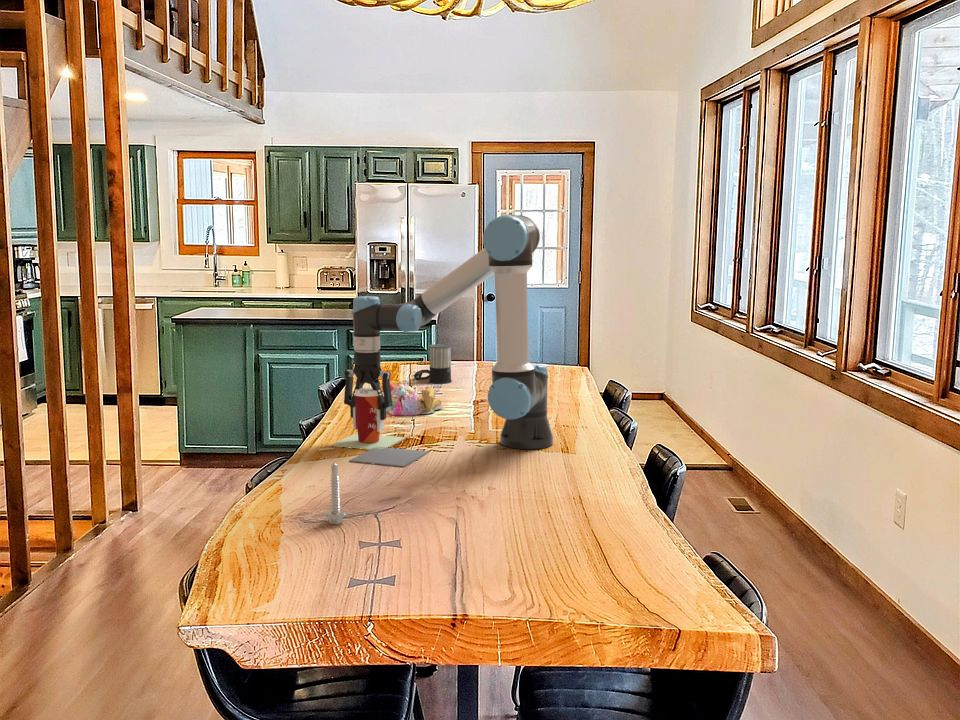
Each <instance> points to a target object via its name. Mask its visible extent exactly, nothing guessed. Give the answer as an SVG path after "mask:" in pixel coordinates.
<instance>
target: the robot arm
mask: <svg viewBox="0 0 960 720" xmlns="http://www.w3.org/2000/svg"><path fill="white" fill-rule="evenodd" d="M482 235H483V236H482V243H483V247H484V248H482V249H481V250H480V251H478V252H477V253H476V254H474V255H472V256H471V257H470V258H468V259H467V260H466V261H465V262H463V263H461V265H458V267H456V268H455V269H453V270H452V271H451V272H449V273H448V274H446V275H445V276H444V277H443V278H440V280H439V281H437V282H436V283H434V284H433V285H431V287H429V288H427V289H426V290H424V291H423V292H422V293H421V294H419V295H418V296H416V297H415V298H413V300H411V301H407V302H405V303H404V302H403V303H396V304H394V303H392V304H391V303H390V304H389V303H387V304H385V303H381V300H380V298H379V296H374V295H363V296H360V295H359V296H356V297H354V298H353V300H352V301H353V302H352V303H353V304H352V323H353V324H352V327H353V350H354V352H353V365H354V367H353V369H347V370H345V371H344V372H343V373H344V377H345V382H344V383H345V385H344V395H343V396H344V397H343V404H344V405H347V406H349V408H350V418H352V420H353V421H352V425H353V426H352V428H353V429H352V430H354V431H356V430H357V417H356V404H355V395H354V393H355V389H361V388H363V387H364V385H365V384H368V385H370V387H372V388H373V390H375V391H377V393H378V395H379V394H382V395H379V396H378V402H377V403H378V405H379V408H378V409H377V432H380V433H381V432H383V431H384V430H385V428H384V427H385V425H384V421H385V420H386V419H387V413H386V408H387V407H390V406H392V396H391V388H390V382H391V381H390V380H391V376H392V373H391V372H390V371H387V372H386V371H383V370H382V368H381V364H382V363H381V361H382V360H381V351H380V350H381V332H384V331H386V332H403V333H409V332H410V333H411V332H412V333H413V332H418V331H419V330H420V328H421V327H423V326H425V325H427V324H428V323H430V322H431V321H432V319H433V318H435V316H437V315H438V314H440V313H441V312H442V311H444V310H445V309H447V308H448V307H449V306H451V305H452V304H454V303H455V302H457V301H458V300H459V299H461V298H462V297H463V296H465V295H467V293H469V292H470V291H472V290H473V289H475V288H476V287H478V286H479V285H480V284H482V283H483V282H485V281H486V280H488V279H489V278H490V277H492V276H493V275H494V293H495V294H494V296H495V329H496V330H495V331H496V332H495V333H496V334H495V335H496V363H495V364H494V365H493V366H492V368H491V385H490V386H489V389H488V392H487V403H488V405H489V408H490V409H491V410H492V412H493V413H494V414H495V415H496V416H498V417H500V418H502V419H504V420H505V421H504V424H503V427H502V430H501V433H500V436H499V442H500V445H501V446H504V447H507V448H510V449H516V450H517V449H518V450H538V449H545V448H548V447H551V446H552V445H553V444H554V443H553V442H554V439H553V438H554V436H553V433H552V429H551V425H550V422H549V419H548V388H549V387H548V385H549V383H548V379H549V374H548V368H547V366H546V365H542V364H532V363H531V361H530V349H529V346H530V345H529V309H528V308H529V307H528V306H529V304H528V303H529V302H528V301H529V299H528V272H529V270H530V269H531V268H532V267H533V253H534V252H535V251H536V249H537V248H538V246H539V243H540V239H541V233H540V229H539V227H538V225H537V224H536V223H535V221H534V220H532V219H531V218H530V217H528V216H526V215H520V214H519V215H516V214H504V215H500V216H497V217H495V218H493V219H492V220H491V221H490V222H489V223H488V224H487V225H486V227H485V229H484V232H483V234H482ZM354 376H355V378H356V381H355V386H354ZM379 378H381V382H380V380H379ZM381 383H382V385H383V389H382V387H381V386H382V385H380V384H381ZM353 386H354V388H353ZM378 390H380V392H378ZM357 431H358V430H357Z"/></svg>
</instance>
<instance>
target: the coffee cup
mask: <svg viewBox="0 0 960 720" xmlns="http://www.w3.org/2000/svg"><path fill="white" fill-rule="evenodd" d="M354 389H355V388H354ZM378 392H380V390H378ZM354 395H355V404H356V417H357V433H358V440H359V442H363V443H372V442H377V441H379V437H380V435H381V432H377V409H378V408H379V405H378V403H377V402H378V396H379V395H382V394H379V395H378V393H377V391H375V390H373V388H372V387H371V386H365V387H364V386H363V388H361V389H355V393H354Z"/></svg>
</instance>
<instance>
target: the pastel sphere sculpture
mask: <svg viewBox="0 0 960 720" xmlns="http://www.w3.org/2000/svg"><path fill="white" fill-rule="evenodd" d="M390 388H391V396H392V406H390V407H387V408H386V414H389V415H392V416H404V417H406V416H409V417H411V416H416V415H426V414H432V413H435V412H434V411H437V410H441V409H443V406H442V401H441V400H440V398H438V397H435V392H436V389H435V388H434V387H433V386H429V385H428V386H426V387H425V389H424V388H422V389H421V391H420V392H421V395H418V393H417V391H416V389H414V388H413V387H411V386H408V384H407V383H405V384H403V383H399V384H398V385H397V386H396V385H394V384H393V382H392V381H390ZM381 390H383V385H381Z"/></svg>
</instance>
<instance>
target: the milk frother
mask: <svg viewBox="0 0 960 720" xmlns="http://www.w3.org/2000/svg"><path fill="white" fill-rule="evenodd" d="M451 347H452V345H451V344H448V343H447V344H446V343H434V344H430V345H428V348H429V369H421V370H418V371H416V372H415V373H413V379H415V380H418V381H419V380H420V381H427V380H428V379H429V380H428V382H429V383H432V384H450V383H452V381H453V380H452V350H451ZM423 374H428V375H427V376H423ZM422 376H423V377H422Z"/></svg>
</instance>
